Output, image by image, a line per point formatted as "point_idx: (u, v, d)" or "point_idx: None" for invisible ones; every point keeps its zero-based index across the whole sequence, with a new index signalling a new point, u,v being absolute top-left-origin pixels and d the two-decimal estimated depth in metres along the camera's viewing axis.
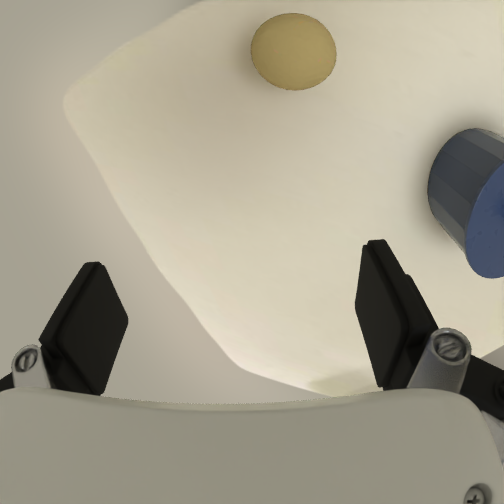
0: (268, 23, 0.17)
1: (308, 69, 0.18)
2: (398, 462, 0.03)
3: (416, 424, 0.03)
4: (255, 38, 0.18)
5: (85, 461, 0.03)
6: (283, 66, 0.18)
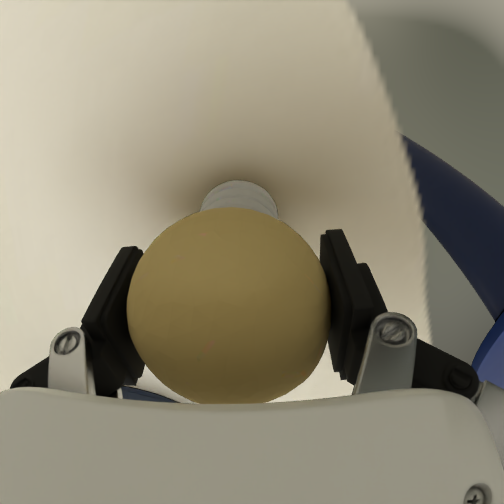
0: (305, 296, 0.07)
1: (175, 390, 0.08)
2: (398, 462, 0.03)
3: (416, 424, 0.03)
4: (256, 258, 0.07)
5: (85, 460, 0.03)
6: (166, 356, 0.07)
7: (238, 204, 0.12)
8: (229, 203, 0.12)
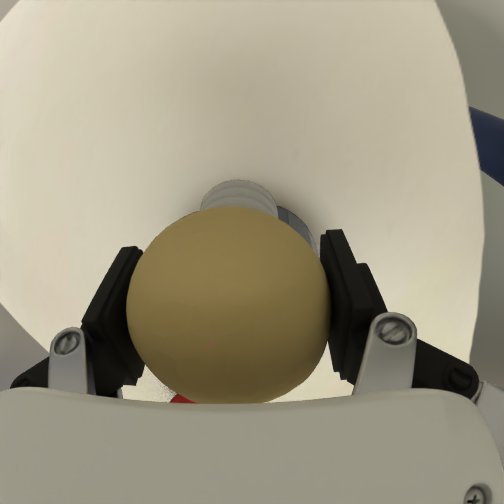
0: (305, 295, 0.07)
1: (175, 390, 0.08)
2: (398, 462, 0.03)
3: (416, 424, 0.03)
4: (256, 257, 0.07)
5: (84, 461, 0.03)
6: (166, 355, 0.07)
7: (238, 204, 0.12)
8: (229, 202, 0.12)
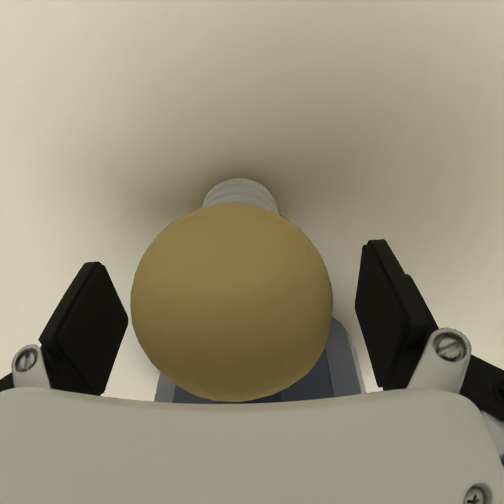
0: (307, 289, 0.08)
1: (179, 384, 0.08)
2: (398, 462, 0.03)
3: (416, 424, 0.03)
4: (259, 251, 0.07)
5: (85, 461, 0.03)
6: (171, 348, 0.07)
7: (240, 201, 0.12)
8: (231, 200, 0.12)
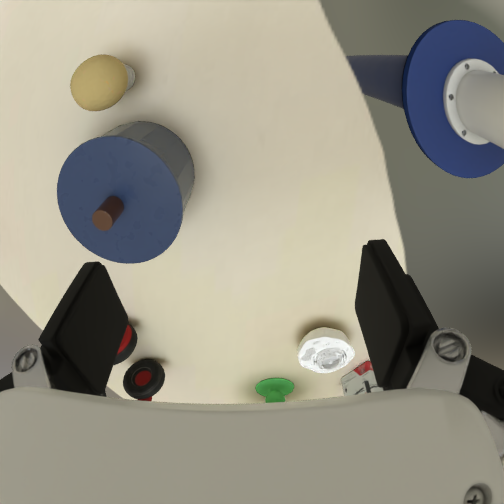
0: (108, 62, 0.24)
1: (76, 94, 0.25)
2: (398, 462, 0.03)
3: (416, 424, 0.03)
4: (99, 56, 0.24)
5: (84, 461, 0.03)
6: (76, 79, 0.24)
7: None
8: None
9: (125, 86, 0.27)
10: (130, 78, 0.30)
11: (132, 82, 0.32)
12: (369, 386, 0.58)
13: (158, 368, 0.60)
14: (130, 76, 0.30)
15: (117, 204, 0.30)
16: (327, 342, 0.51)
